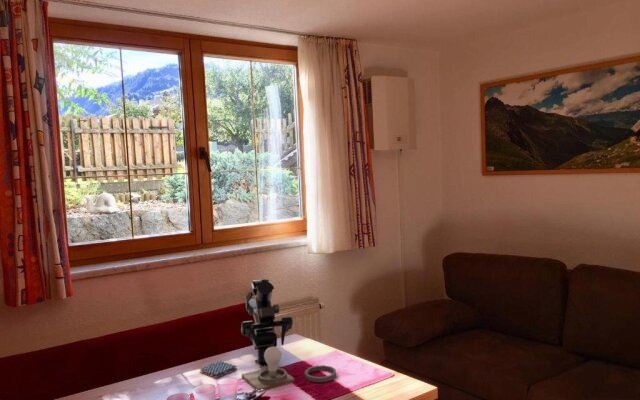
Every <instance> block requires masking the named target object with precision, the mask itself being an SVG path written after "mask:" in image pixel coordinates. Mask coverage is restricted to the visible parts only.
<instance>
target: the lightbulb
mask: <svg viewBox="0 0 640 400" xmlns="http://www.w3.org/2000/svg"><path fill="white" fill-rule="evenodd" d="M264 358H265V361H266V363H267V365H266V366H267V368H268V370H269V376H270V377H272V378H274V377H275V376H276V370H277V366H278V365H279V362H280V361H281V359H282V352H281V349H279V348H278V347H277V346H276V347H269V348H267V349H266V351H265V353H264ZM278 367H279V366H278Z"/></svg>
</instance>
